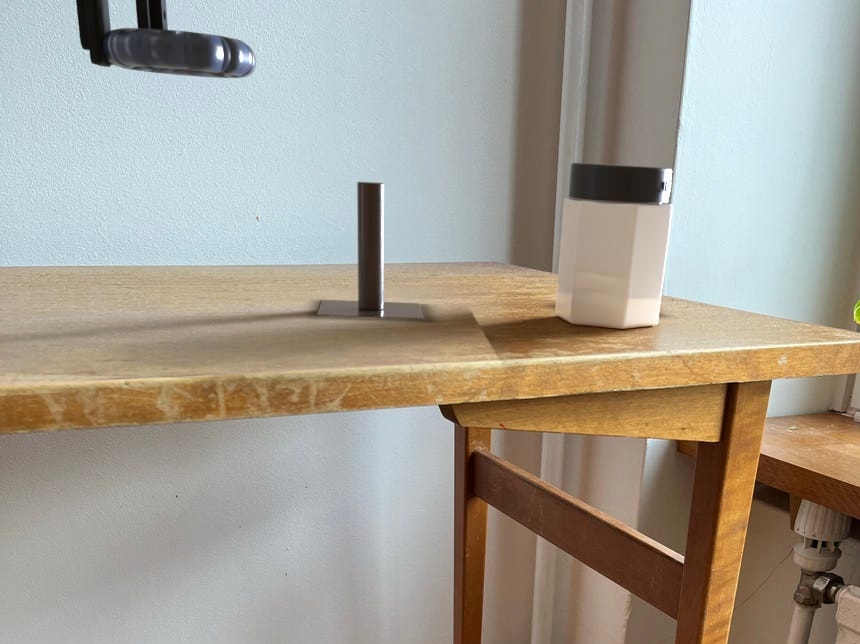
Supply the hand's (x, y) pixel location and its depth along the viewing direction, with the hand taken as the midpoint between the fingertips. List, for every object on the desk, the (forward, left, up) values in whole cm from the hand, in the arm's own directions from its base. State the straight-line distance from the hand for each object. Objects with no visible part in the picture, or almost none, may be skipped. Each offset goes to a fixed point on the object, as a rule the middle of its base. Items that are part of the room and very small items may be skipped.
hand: (127, 64), depth 62 cm
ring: (+3, 0, +1) cm, 3 cm away
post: (+15, +7, -16) cm, 23 cm away
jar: (+35, +12, -17) cm, 41 cm away
